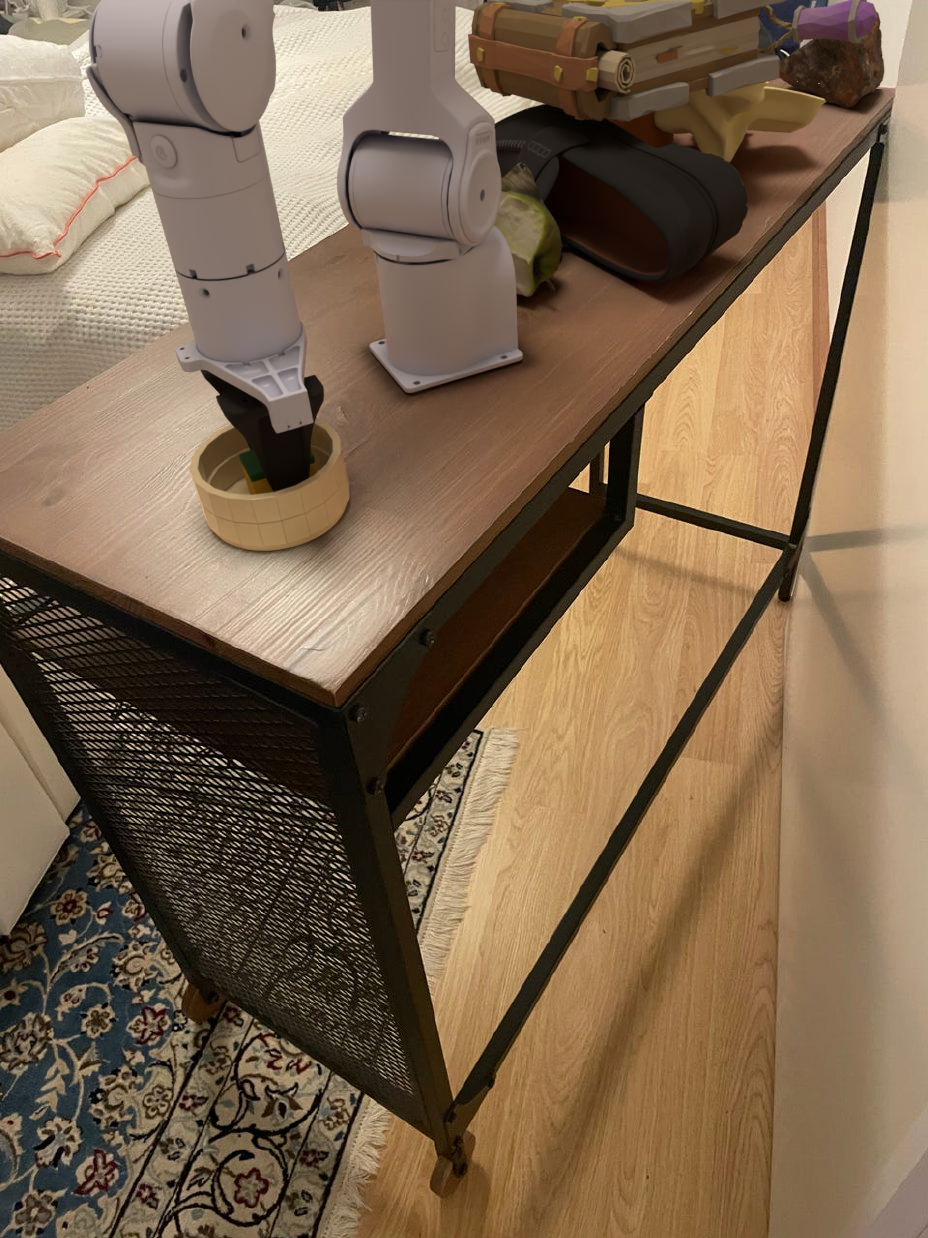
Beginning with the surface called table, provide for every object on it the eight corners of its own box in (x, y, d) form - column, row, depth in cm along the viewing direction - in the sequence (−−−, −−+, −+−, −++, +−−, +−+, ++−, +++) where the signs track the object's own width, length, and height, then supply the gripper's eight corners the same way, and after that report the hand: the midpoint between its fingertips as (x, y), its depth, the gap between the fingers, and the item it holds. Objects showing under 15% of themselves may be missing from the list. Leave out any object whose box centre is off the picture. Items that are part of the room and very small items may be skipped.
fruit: (599, 215, 76) (570, 286, 73) (532, 272, 84) (504, 338, 81) (511, 137, 73) (477, 208, 69) (450, 205, 80) (417, 271, 77)
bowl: (324, 451, 64) (313, 398, 61) (371, 523, 57) (361, 469, 55) (193, 491, 61) (175, 438, 58) (227, 571, 55) (210, 517, 52)
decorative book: (632, 155, 71) (633, -11, 64) (458, 95, 89) (443, -40, 82) (877, 75, 79) (902, -82, 71) (671, 34, 96) (674, -94, 89)
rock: (774, 109, 115) (842, 52, 114) (842, 163, 110) (915, 103, 108) (762, 17, 103) (839, -49, 102) (839, 72, 98) (921, 3, 96)
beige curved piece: (724, 61, 80) (711, 141, 82) (866, 104, 90) (852, 174, 92) (571, 95, 99) (563, 160, 100) (703, 127, 108) (694, 186, 110)
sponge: (309, 473, 60) (301, 435, 58) (322, 495, 59) (314, 455, 57) (249, 492, 59) (238, 454, 57) (260, 515, 57) (249, 475, 55)
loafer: (497, 81, 87) (402, 126, 82) (762, 151, 73) (670, 212, 68) (502, 186, 95) (415, 235, 89) (744, 269, 81) (659, 332, 75)
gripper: (127, 227, 52) (192, 436, 62) (184, 333, 43) (251, 562, 52) (249, 199, 54) (295, 406, 64) (331, 295, 44) (371, 523, 54)
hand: (283, 474), depth 58 cm, fingers closed on sponge, 2 cm apart
